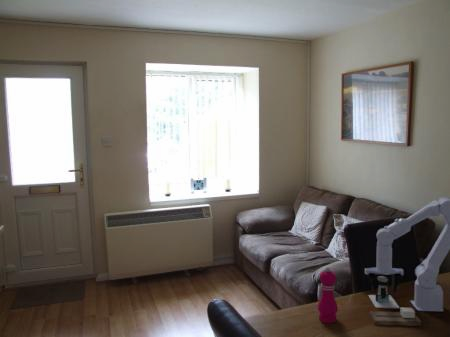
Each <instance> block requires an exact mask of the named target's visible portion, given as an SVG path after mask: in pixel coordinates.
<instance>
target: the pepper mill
mask: <svg viewBox="0 0 450 337" xmlns="http://www.w3.org/2000/svg"><path fill="white" fill-rule="evenodd" d="M319 281H320V282H321V283H320V288H321V290H322V293H321V297H320V298H319V301H318V303H317V311H319V313H318V318H319V320H320V321H321V322H323V323H326V324H333V323H336V321H337V313H338V311H339V307H338V303H337V301H336V298H335V295H334V290H335V289H336V283H337V276H336V274H335V273H334V272H333V271H331V268H330V267H329V266H326V267H325V269H324V270H323V271H321V272H320V274H319Z"/></svg>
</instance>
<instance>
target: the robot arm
mask: <svg viewBox="0 0 450 337" xmlns="http://www.w3.org/2000/svg"><path fill="white" fill-rule="evenodd" d="M441 216H442V218H443V221H444V222H445V226H444V227H443V228H442V230H441V232H440V234H439V236H438V238H437V240H436V241H435V243H434V245H433V246H432V248H431V250H430V252H429V253H428V255H427V257H426V258H425V259H424V260H423V261H422V262H421V263H420V264H419V265H417V266H416V268H415V269H414V275H415V276H416V280H415V281H414V298H413V300H410V301H409V302H410V303H411V305H412V306H413V307H414V308H415V309H416V310H417V311H419V312H444V291H443V288H442V286H441V285H440V284H437V278H438V275H439V272H440V267H441V265H442V263H443V261H444V260H445V259H446V256H447V255H448V253H449V251H450V197H449V196H440V197H439V198H437V199H434V200H433V201H430V203H427V204H426V205H425V206H424V207H422V208H420V209H419V210H417V211H416V212H414V213H413V214H411V215H409V216H408V217H407V218H402V217H400V218H396V219H394V222H392V223H390V224H389V225H385V226H384V227H383V228H382V227H381V228H380V229H378V230H377V232H376V235H375V236H376V240H377V242H376V260H375V261H376V263H375V264H376V267H374V266H373V267H367V268H366V267H365V268H364V274H365V275H367V277H368V280H369V282H370V285H371V291H372V292H373V293H376V284H377V283H376V278H377V277H376V275H383V276H385V275H386V276H387V275H389V276H390V275H391V292H392V293H396V291H397V287H398V285H399V283H400V282H401V281H402V276H404V272H405V271H404V269H403V268H395V267H393V248H392V245H393V242H394V240H397V239H398V238H400V237H402V236H404V235H406V234H407V233H409V232H410V231H411V229H412V226H415V225H417V224H418V223H420V222H422V221H424V220H426V219H427V218H429V217H437V218H439V217H441Z"/></svg>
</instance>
